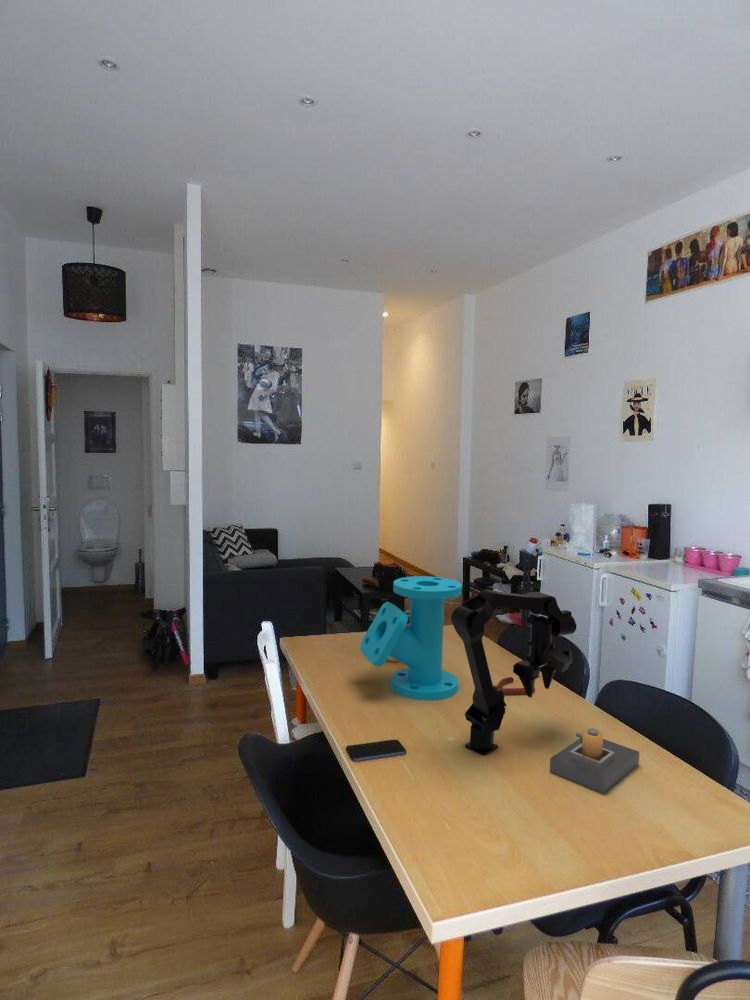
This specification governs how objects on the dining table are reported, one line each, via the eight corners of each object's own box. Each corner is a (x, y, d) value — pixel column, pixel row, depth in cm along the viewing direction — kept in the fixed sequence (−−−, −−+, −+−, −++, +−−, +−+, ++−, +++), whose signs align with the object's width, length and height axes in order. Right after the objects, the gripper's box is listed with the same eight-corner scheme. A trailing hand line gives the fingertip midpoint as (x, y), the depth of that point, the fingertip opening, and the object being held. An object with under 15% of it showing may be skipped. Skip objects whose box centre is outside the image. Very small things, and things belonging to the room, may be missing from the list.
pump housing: (597, 763, 154) (598, 736, 153) (571, 754, 158) (572, 728, 157) (605, 756, 157) (606, 730, 157) (579, 747, 162) (580, 722, 161)
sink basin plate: (604, 794, 147) (605, 774, 146) (549, 771, 156) (550, 752, 156) (638, 764, 161) (639, 746, 160) (586, 745, 171) (587, 727, 170)
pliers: (467, 694, 205) (468, 686, 205) (510, 682, 217) (510, 675, 216) (493, 707, 196) (493, 699, 196) (536, 693, 207) (537, 686, 207)
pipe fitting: (469, 696, 202) (473, 589, 199) (374, 706, 193) (377, 594, 190) (442, 672, 224) (445, 575, 220) (355, 680, 214) (357, 578, 211)
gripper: (550, 652, 162) (547, 711, 164) (584, 638, 176) (581, 692, 177) (513, 642, 170) (510, 698, 171) (548, 629, 183) (545, 681, 185)
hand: (538, 692), depth 176 cm, fingers open, 9 cm apart
